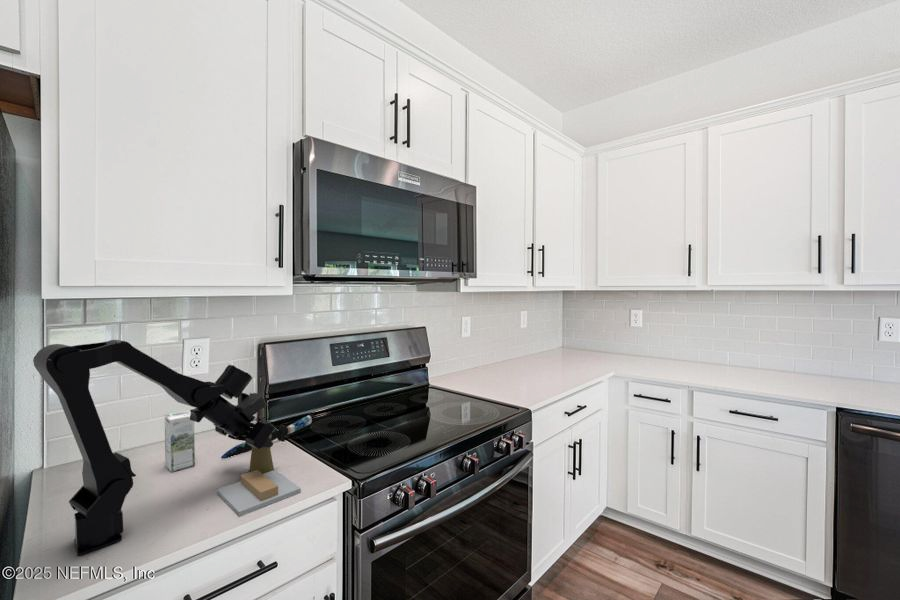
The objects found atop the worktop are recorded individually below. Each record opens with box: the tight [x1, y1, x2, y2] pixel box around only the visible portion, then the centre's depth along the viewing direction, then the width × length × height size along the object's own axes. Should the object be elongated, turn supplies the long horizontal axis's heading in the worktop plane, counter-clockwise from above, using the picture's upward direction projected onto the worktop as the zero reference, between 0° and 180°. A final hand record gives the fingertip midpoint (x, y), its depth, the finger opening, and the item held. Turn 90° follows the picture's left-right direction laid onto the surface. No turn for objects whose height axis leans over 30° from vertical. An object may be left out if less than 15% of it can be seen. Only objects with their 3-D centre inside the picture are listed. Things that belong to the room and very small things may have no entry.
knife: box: [220, 413, 315, 460], centre depth 128 cm, size 31×3×4 cm, turn 140°
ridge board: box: [216, 469, 302, 517], centre depth 98 cm, size 14×14×3 cm
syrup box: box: [164, 410, 196, 473], centre depth 111 cm, size 6×6×14 cm
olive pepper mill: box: [248, 435, 275, 474], centre depth 109 cm, size 6×6×11 cm
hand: (265, 443), depth 110 cm, fingers closed on olive pepper mill, 5 cm apart
